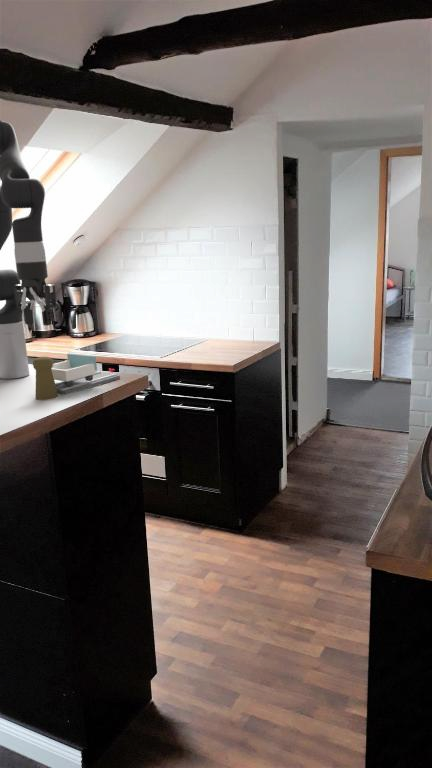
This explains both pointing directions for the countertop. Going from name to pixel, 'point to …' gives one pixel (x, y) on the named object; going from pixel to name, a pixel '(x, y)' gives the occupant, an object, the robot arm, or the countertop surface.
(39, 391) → the olive green pepper mill
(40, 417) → the countertop surface
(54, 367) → the cart
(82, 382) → the rail board
